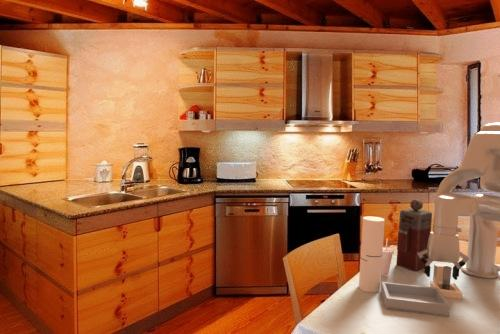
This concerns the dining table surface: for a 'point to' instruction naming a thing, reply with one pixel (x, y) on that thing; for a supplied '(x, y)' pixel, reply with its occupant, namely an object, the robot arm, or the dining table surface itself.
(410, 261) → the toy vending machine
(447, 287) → the post
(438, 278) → the beige stepped block
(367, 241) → the cylindrical container
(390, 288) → the tray
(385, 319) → the dining table surface
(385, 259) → the smoothie
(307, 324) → the dining table surface
